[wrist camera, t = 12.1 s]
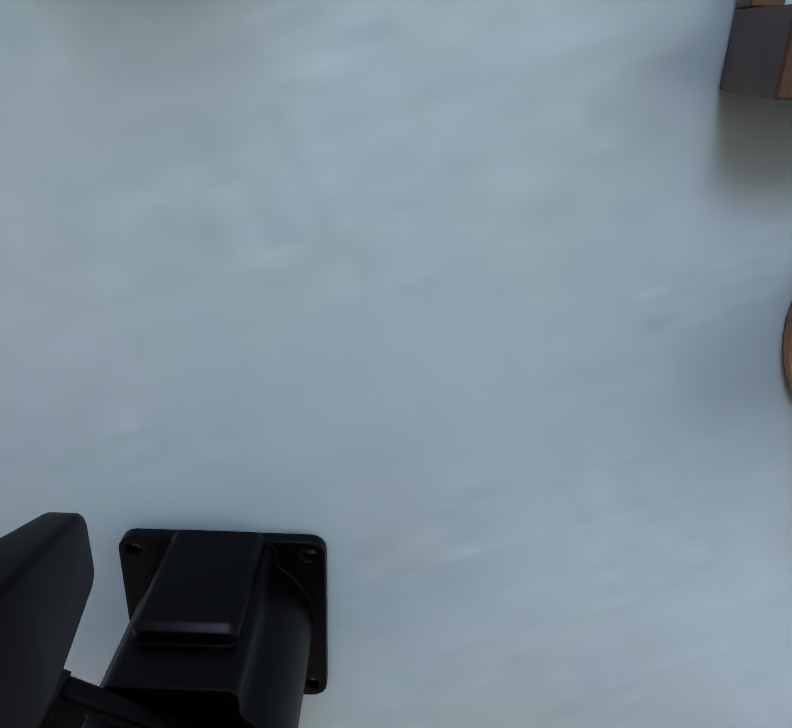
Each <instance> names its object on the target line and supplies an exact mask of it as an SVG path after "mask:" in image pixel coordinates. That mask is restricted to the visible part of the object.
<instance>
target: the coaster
mask: <svg viewBox="0 0 792 728" xmlns="http://www.w3.org/2000/svg"><path fill="white" fill-rule="evenodd" d="M783 357H784V367H785V372H786V376H787V380H788V383H789V386H790V388H791V390H792V305H791V308H790V311H789V314H788V317H787V321H786V327H785V332H784V342H783Z"/></svg>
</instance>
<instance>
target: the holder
mask: <svg viewBox="0 0 792 728" xmlns="http://www.w3.org/2000/svg"><path fill="white" fill-rule="evenodd" d="M784 4H785V0H737V8H739V9H737V10H736V12H735V16H734V21H733V26H732V31H731V36H730V41H729V46H728V51H727V56H726V61H725V66H724V72H723V77H722V82H721V90H723V91H729V92H734V93H740V94H746V95H751V96H757V97H762V98H768V99H774V100H791V101H792V4H789V5H784Z"/></svg>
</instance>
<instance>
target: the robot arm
mask: <svg viewBox="0 0 792 728" xmlns="http://www.w3.org/2000/svg"><path fill="white" fill-rule="evenodd" d="M132 543H137V544H139V545H141V546H142V548H138V547H135V546H134V545H133V544H132ZM305 549H312V550H314V551H316V553H313V554H310V553H307V552H305V551H304V550H305ZM119 553H120V559H121V566H122V573H123V579H124V586H125V593H126V599H127V606H128V613H129V619H130V623H129V625H128V627H127V629H126V631H125V633H124V635H123V637H122V639H121V642H120V644H119V646H118V648H117V650H116V652H115V654H114V656H113V659H112V661H111V663H110V665H109V667H108V669H107V671H106V673H105V675H104V678H103V680H102V682H101V684H100V686H96V685H93V684H91V683H88V682H85V681H83V680H80V679H77V678H75V677H72V676H70V674H71V671H68V670H66V669H63V668H64V665H65V662H66V659H67V656H68V653H69V651H70V648H71V645H72V642H73V639H74V636H75V633H76V631H77V628H78V625H79V622H80V619H81V616H82V614H83V611H84V608H85V605H86V602H87V599H88V597H89V594H90V591H91V588H92V584H93V578H94V566H93V560H92V554H91V548H90V542H89V536H88V531H87V525H86V522H85V520H84V518H83V517H82V516H81V515H80V514H78V513H58V512H49V513H45V514H43V515H41V516H39V517H38V518H36V519H34V520H32V521H30V522H29V523H27V524H25V525H23V526H21V527H20V528H18V529H16V530H14V531H12V532H11V533H9V534H7V535H5V536H3V537H2V538H0V728H298V724H299V718H300V712H301V705H302V699H303V694H318V693H321V692H323V691H324V689H325V688H326V685H327V677H328V651H327V547H326V543H325V542H324V541H323V539H322V538H320V537H318V536H316V535H310V534H281V533H256V532H234V531H205V530H166V529H131V530H129V531H127V532H126V534H125V535H124V537H123V538H122V540H121V542H120V544H119ZM311 678H313V679H316V680H311Z"/></svg>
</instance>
